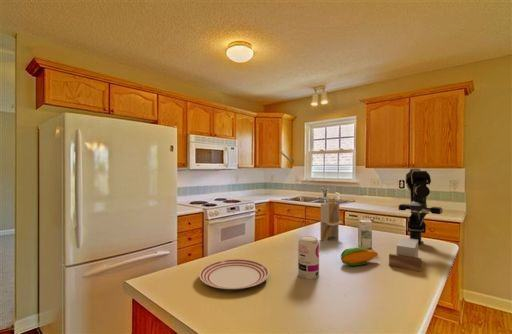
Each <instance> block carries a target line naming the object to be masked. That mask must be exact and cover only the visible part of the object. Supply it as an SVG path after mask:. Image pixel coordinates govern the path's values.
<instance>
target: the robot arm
mask: <svg viewBox="0 0 512 334" xmlns="http://www.w3.org/2000/svg"><path fill="white" fill-rule="evenodd" d="M405 184H406V187H407V189H408V190H409V193H410V197H409V198H410V203H409V204H408V203H407V204H406V203H400V204H399V205H398V211H406V210H409V211H410V216H409V217H408V220H407V222H406V231H407V232H408V233H409V238H410V239H417V240H418V245H422V244H423V243H424V241H422V234H425V233H426V229H427V224H426V223H425V220H424V219H425V218H426V216H427V215H428V214H430V213H431V214H433V215H442V214H443V208H442V207H441V206H431V207H428V204H427V197H428V196H429V195H430V194H431V190H430V187H428V186H427V185H429V186H430V185H431V184H432V179H431V175H430V173H428V171H427V170H421V168H410V169H409V171H408V172H407V173H406V175H405Z"/></svg>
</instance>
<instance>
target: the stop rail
mask: <svg viewBox="0 0 512 334" xmlns="http://www.w3.org/2000/svg"><path fill="white" fill-rule="evenodd" d="M388 266H390V267H395V268H399V269H405V270H410V271H415V272H419V273H420V272H421V271H422V258H420V257H418V258H416V257H410V256H404V255H398V254H397V253H391V252H389V254H388Z"/></svg>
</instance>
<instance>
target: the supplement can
mask: <svg viewBox="0 0 512 334" xmlns="http://www.w3.org/2000/svg"><path fill="white" fill-rule="evenodd" d="M297 249H298V250H297V254H298V255H297V258H298V259H297V267H298V268H297V269H298V270H297V273H298V276H300V277H301V278H303V279H306V280H307V279H308V280H312V279H313V280H314V279H317V278H318V277H319V275H320V251H319V250H320V242H319V240H318V238H317V237H315V236H309V235H306V236H305V235H303V236H300V237H299V239H298V242H297Z"/></svg>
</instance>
